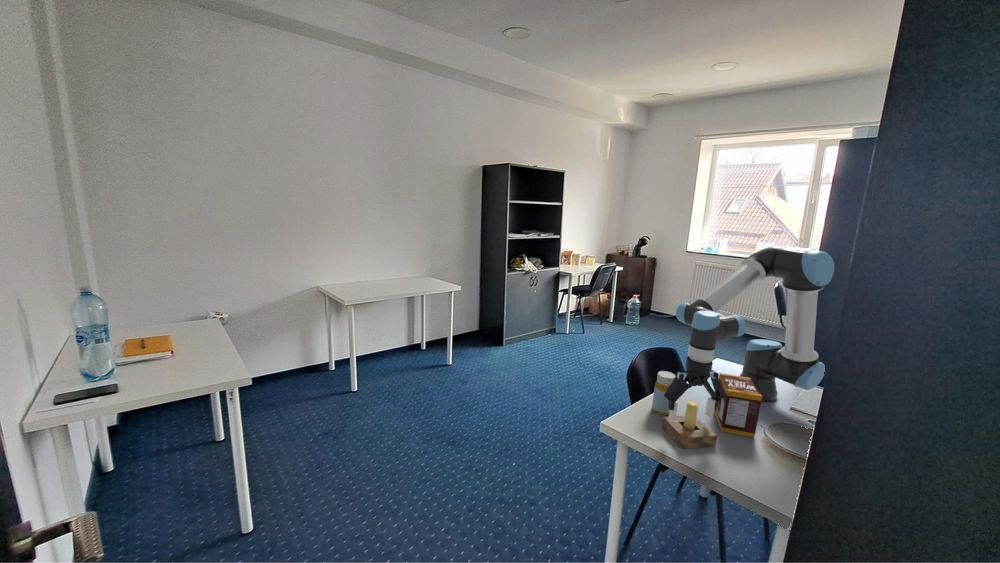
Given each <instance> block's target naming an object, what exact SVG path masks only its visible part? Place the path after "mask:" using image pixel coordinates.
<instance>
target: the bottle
mask: <svg viewBox="0 0 1000 563" xmlns="http://www.w3.org/2000/svg"><path fill="white" fill-rule="evenodd" d="M675 376H676V374H675V373H673V372H671V371H667V370H666V371H665V370H660V371H658V372H657V377H656V378H657V379H656V381H655V383H654V390H653V397H652V403H651V405H652V406H651V409H652V410H653V411H654V413H656V414H658V415H661V416H669V410H670V409H669V408H668V405H669V401H668V400H667V399H666V398H665V397H664V394H665V393H666V391H667V389H668V388H669V386H670V385H671V383H672V382H673V380H674V378H675Z"/></svg>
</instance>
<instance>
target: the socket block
mask: <svg viewBox="0 0 1000 563" xmlns="http://www.w3.org/2000/svg"><path fill="white" fill-rule="evenodd" d="M684 419H685V415H676V420H674V421H673V420H672V419H671V418H670V417H669V416H663V417H662V422H661V428H662V429H663V431H665V432H666V434H667V435H668V436H669V437H671V439H672V440H673V441H674V442H675V443H676V444H677V445H678V446H679V447H680V448H681V449H696V448H697V449H698V448H710V447H717V446H716V445H717V440H718V435H717V434H716V433H715V432H714V431H713V430H712V429H710V428H709V427H708V426H707V425H706V424H705V422H703V421H701V420H700V419H699V418H698V417H696V423H695V429H694V430H689V431H687V430H686V429H685V428H684V427H683V426H684Z"/></svg>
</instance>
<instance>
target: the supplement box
mask: <svg viewBox="0 0 1000 563" xmlns="http://www.w3.org/2000/svg"><path fill="white" fill-rule="evenodd" d="M718 374H719V378H718V379H719V382H720V386H721V389H722V392H723V395H724V397H723V398H720V401H717V404H716V408H714V413H713V414H714V415H715V418H716V422H717V423H718V427H719V430H720V431H721V432H724V433H730V434H733V435H739V436H743V437H744V436H745V437H749V438H755V437H756V431H757V425H758V422H759V415H760V412H761V411H760V410H761V405H762V402H763V401H762V396H761V394H760V393H759V391H758V390H757V388H756V386H755V385H754V383H753V382H752V380H751V378H748V377H741V376H740V375H735V374H728V373H722V372H719V373H718Z"/></svg>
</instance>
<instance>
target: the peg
mask: <svg viewBox="0 0 1000 563" xmlns="http://www.w3.org/2000/svg"><path fill="white" fill-rule="evenodd" d="M685 408H686V409H685V414H684V416H685V419H684V426H683V427H684V428H685V429H686V430H687V431H689V430H694V429H695V423H696V417H697V416H698V410H699V404H697V403H696V402H693V401H688V402H686V407H685ZM697 418H698V417H697Z"/></svg>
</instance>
